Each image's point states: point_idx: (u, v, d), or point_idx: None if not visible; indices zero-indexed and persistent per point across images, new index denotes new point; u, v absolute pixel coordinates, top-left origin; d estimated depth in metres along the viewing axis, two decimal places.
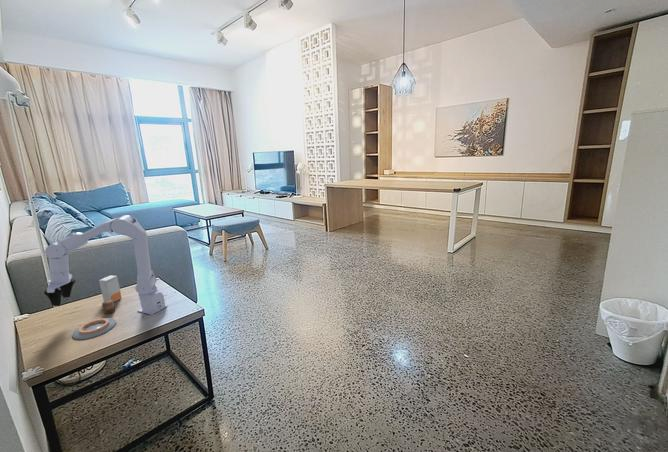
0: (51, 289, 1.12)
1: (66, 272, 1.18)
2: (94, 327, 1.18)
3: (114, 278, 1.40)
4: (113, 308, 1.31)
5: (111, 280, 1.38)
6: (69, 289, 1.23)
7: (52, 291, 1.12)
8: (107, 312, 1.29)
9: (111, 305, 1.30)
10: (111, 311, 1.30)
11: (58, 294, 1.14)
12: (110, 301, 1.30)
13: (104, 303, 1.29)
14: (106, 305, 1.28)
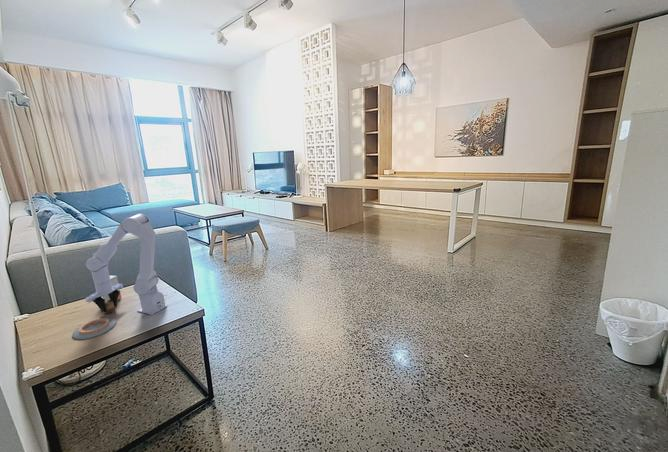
0: (87, 299, 1.22)
1: (104, 284, 1.26)
2: (94, 327, 1.18)
3: (114, 278, 1.40)
4: (113, 308, 1.31)
5: (111, 280, 1.38)
6: (114, 300, 1.31)
7: (88, 301, 1.22)
8: (107, 312, 1.29)
9: (111, 305, 1.30)
10: (111, 311, 1.30)
11: (99, 302, 1.25)
12: (110, 301, 1.30)
13: (105, 303, 1.29)
14: (106, 305, 1.28)
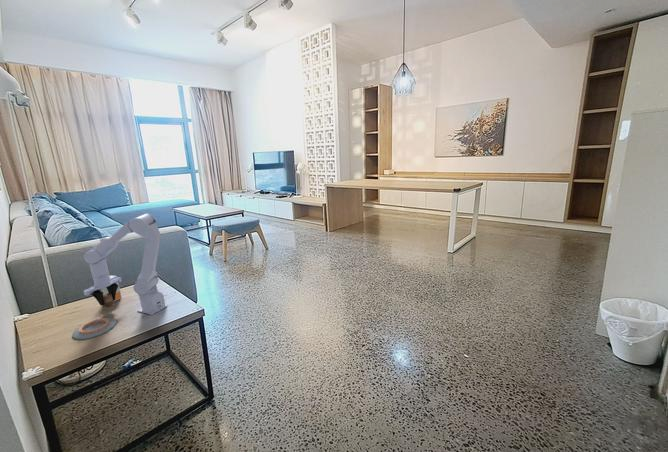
0: (85, 292, 1.21)
1: (102, 277, 1.25)
2: (94, 327, 1.18)
3: None
4: (112, 301, 1.30)
5: None
6: (112, 293, 1.30)
7: (86, 294, 1.21)
8: (105, 305, 1.28)
9: (110, 298, 1.29)
10: (110, 304, 1.29)
11: (97, 295, 1.24)
12: (108, 294, 1.29)
13: (103, 296, 1.28)
14: (104, 298, 1.27)
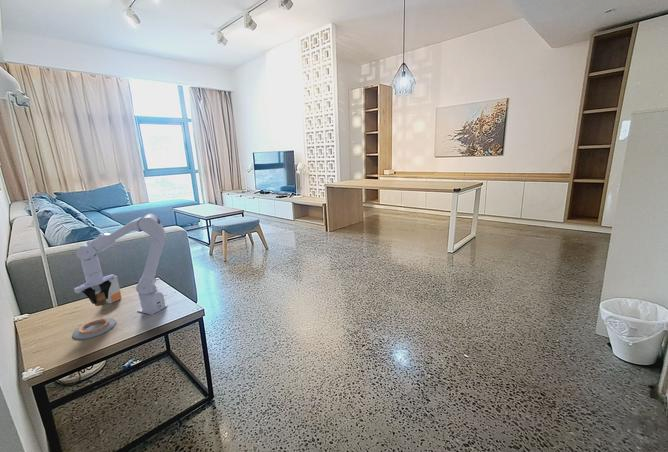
0: (76, 290, 1.15)
1: (94, 274, 1.19)
2: (94, 327, 1.18)
3: None
4: (104, 299, 1.24)
5: (111, 280, 1.38)
6: (105, 291, 1.25)
7: (77, 292, 1.15)
8: (98, 304, 1.22)
9: (102, 296, 1.23)
10: (102, 303, 1.23)
11: (88, 293, 1.18)
12: (101, 292, 1.24)
13: (95, 294, 1.22)
14: (97, 296, 1.22)
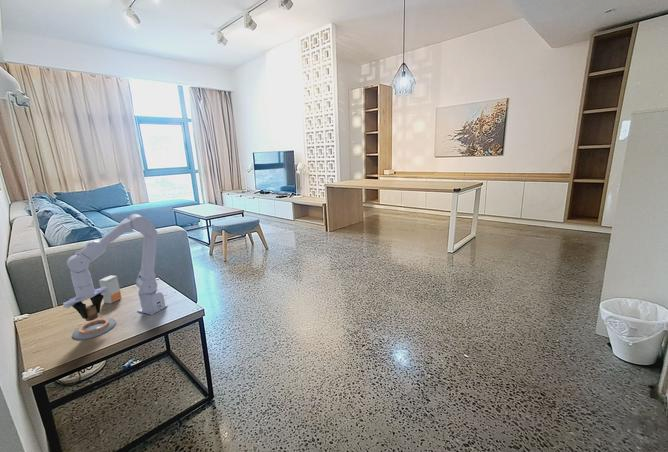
0: (65, 305, 1.08)
1: (85, 287, 1.12)
2: (94, 327, 1.18)
3: (114, 278, 1.40)
4: (95, 314, 1.17)
5: (111, 280, 1.38)
6: (97, 305, 1.17)
7: (66, 307, 1.08)
8: (88, 318, 1.15)
9: (93, 310, 1.16)
10: (93, 317, 1.16)
11: (79, 308, 1.11)
12: (92, 306, 1.16)
13: (86, 308, 1.15)
14: (87, 311, 1.14)
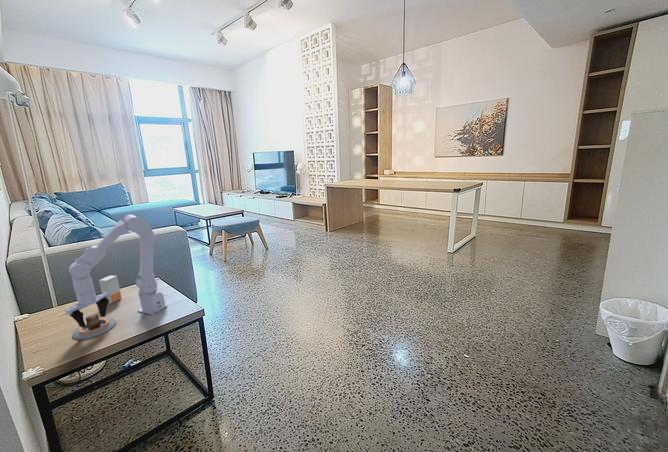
0: (67, 311, 1.09)
1: (86, 294, 1.12)
2: None
3: (114, 278, 1.40)
4: (98, 323, 1.18)
5: (111, 280, 1.38)
6: (102, 309, 1.19)
7: (68, 313, 1.09)
8: (91, 328, 1.16)
9: (96, 320, 1.17)
10: (96, 327, 1.17)
11: (76, 317, 1.10)
12: (95, 315, 1.17)
13: (88, 317, 1.16)
14: (90, 320, 1.15)
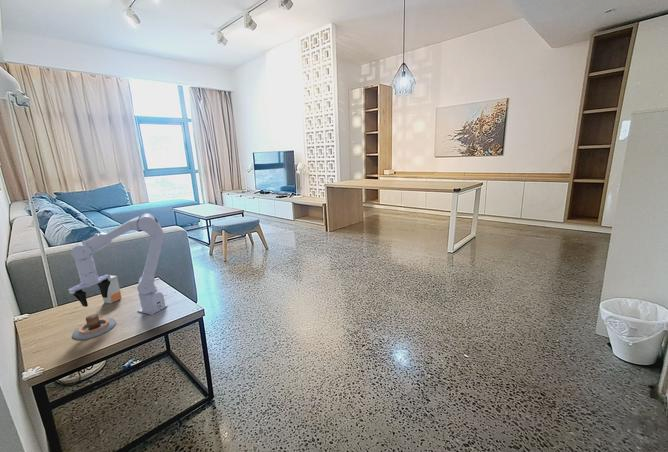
0: (70, 290, 1.12)
1: (89, 274, 1.16)
2: None
3: (114, 278, 1.40)
4: (98, 323, 1.18)
5: (111, 280, 1.38)
6: (104, 290, 1.24)
7: (71, 292, 1.13)
8: (91, 328, 1.16)
9: (96, 320, 1.17)
10: (96, 327, 1.17)
11: (79, 296, 1.14)
12: (95, 315, 1.17)
13: (88, 317, 1.16)
14: (90, 320, 1.15)
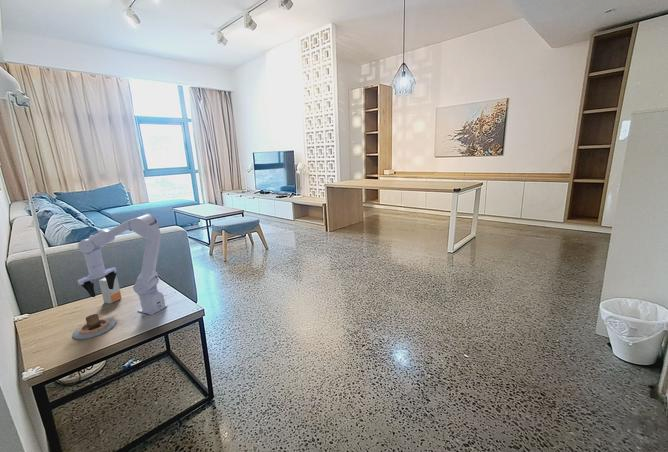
0: (79, 281, 1.20)
1: (97, 266, 1.24)
2: None
3: None
4: (98, 323, 1.18)
5: None
6: (111, 282, 1.31)
7: (80, 283, 1.21)
8: (91, 328, 1.16)
9: (96, 320, 1.17)
10: (96, 327, 1.17)
11: (87, 287, 1.22)
12: (95, 315, 1.17)
13: (88, 317, 1.16)
14: (90, 320, 1.15)
